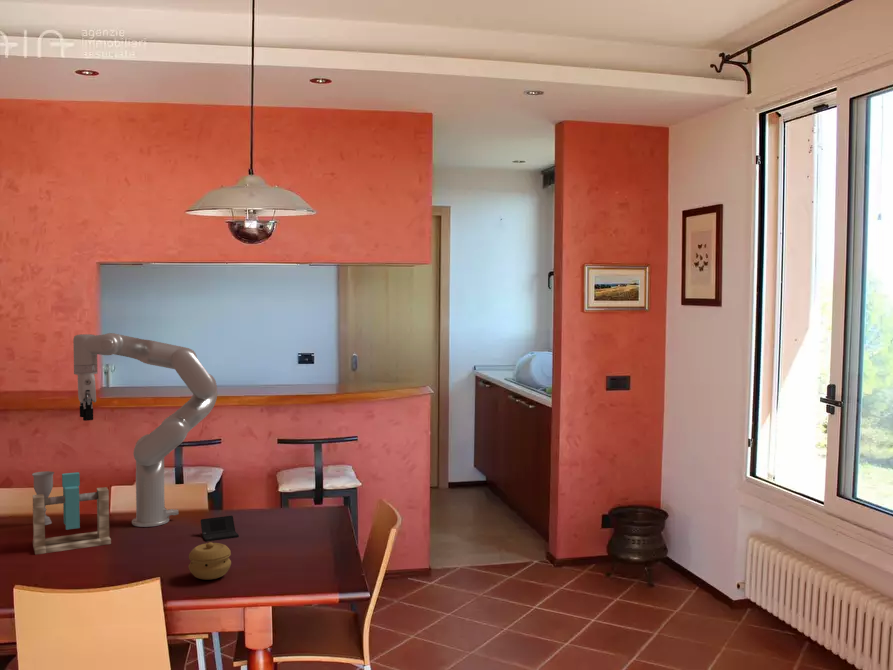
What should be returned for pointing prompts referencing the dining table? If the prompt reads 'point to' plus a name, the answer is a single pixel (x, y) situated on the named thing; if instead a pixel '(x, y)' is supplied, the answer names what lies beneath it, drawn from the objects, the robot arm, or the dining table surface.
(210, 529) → the handheld gaming console
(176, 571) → the dining table surface
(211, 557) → the pot
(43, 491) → the chalice
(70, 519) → the teal rectangular block
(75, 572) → the dining table surface
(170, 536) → the dining table surface
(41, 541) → the rack
